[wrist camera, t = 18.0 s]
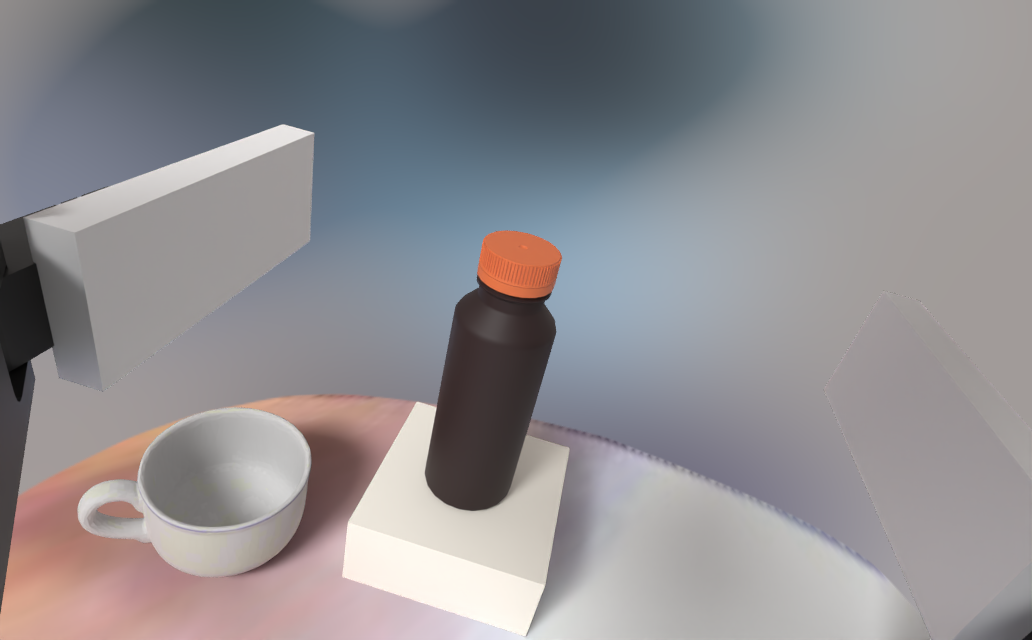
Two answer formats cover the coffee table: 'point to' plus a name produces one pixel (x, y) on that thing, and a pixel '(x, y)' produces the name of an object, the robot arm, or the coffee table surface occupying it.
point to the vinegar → (493, 371)
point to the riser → (457, 533)
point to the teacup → (212, 492)
